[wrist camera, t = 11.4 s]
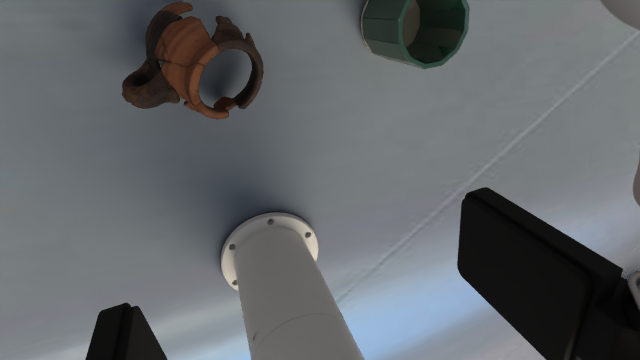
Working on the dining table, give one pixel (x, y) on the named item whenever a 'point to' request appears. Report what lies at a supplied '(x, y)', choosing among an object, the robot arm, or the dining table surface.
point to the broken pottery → (188, 62)
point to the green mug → (415, 30)
